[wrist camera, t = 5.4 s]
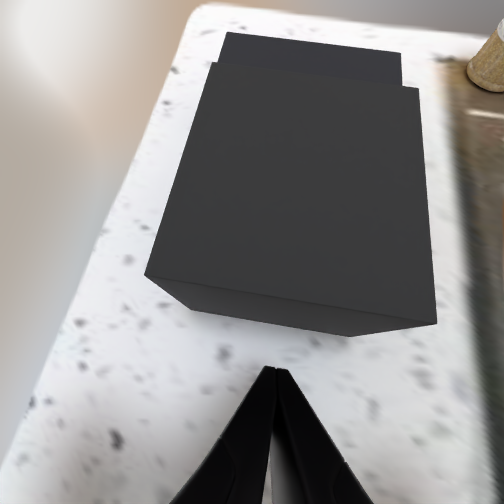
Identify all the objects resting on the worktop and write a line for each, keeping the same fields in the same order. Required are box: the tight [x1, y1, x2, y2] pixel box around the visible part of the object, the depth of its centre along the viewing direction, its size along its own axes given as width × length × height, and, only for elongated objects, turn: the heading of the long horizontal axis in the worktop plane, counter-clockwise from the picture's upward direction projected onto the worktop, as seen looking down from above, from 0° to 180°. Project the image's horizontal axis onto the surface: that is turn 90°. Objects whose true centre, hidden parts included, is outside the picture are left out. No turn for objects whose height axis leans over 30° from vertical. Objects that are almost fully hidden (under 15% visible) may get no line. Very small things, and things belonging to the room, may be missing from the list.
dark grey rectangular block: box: [217, 32, 402, 86], centre depth 20 cm, size 5×12×5 cm, turn 81°
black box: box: [144, 62, 437, 337], centre depth 15 cm, size 11×10×8 cm
